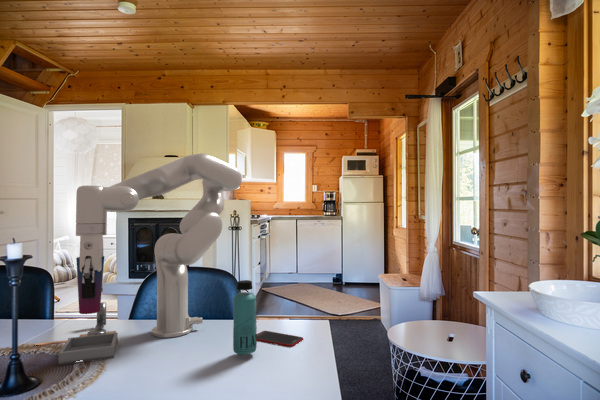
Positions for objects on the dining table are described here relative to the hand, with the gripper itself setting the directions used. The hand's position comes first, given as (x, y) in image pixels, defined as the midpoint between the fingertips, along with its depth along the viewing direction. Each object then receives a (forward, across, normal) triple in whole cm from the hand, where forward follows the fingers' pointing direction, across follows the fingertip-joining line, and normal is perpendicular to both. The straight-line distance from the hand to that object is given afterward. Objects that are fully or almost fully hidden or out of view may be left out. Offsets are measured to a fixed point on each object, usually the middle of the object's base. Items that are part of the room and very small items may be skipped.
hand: (90, 294), depth 105 cm
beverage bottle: (+16, -18, -39) cm, 46 cm away
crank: (+15, +19, 0) cm, 24 cm away
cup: (+5, 0, 0) cm, 5 cm away
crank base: (+16, +13, +5) cm, 21 cm away
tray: (+16, 0, 0) cm, 16 cm away
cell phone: (+16, -9, -51) cm, 54 cm away
